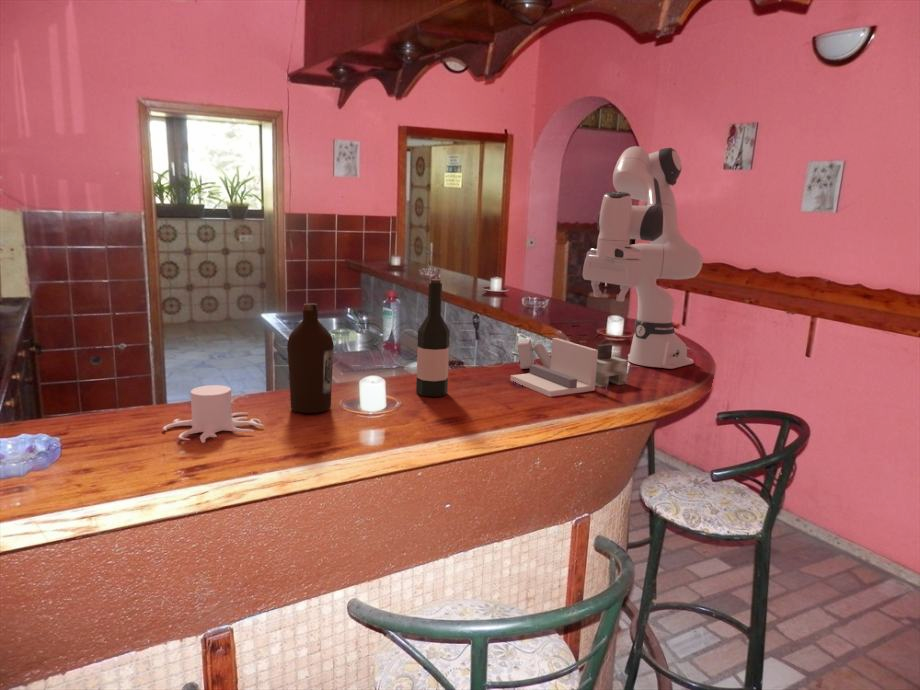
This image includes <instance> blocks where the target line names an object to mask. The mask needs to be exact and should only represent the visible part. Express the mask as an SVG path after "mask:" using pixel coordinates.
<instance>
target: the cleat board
mask: <svg viewBox="0 0 920 690" xmlns="http://www.w3.org/2000/svg"><path fill="white" fill-rule="evenodd" d="M551 339H552V340H551V352H550V357H551V365H550V369H548V368H546V367H544V365H540V364H538V363H537V364H535V363H534V365H530V368H529V372H527V373H521V374H520V373H519V374H511V375H510V381H511V382H513V381H514V382H513V383H515V382H516V384H518V385H520V386H522V385H523V387H525V388H527V389H530V390H533V391H535V392H537V393H539V394H542V395H545V396H546V397H550V398H552V397H556V396H565V395H573V394H579V393H585V392H586V393H587V392H592V391H593V392H594V391H595V389H596V388H595V387H596V386H595V380H596V368H597V357H598V350H596V348H592V347H589V346H585V345H582V344H577V343H575V342H571V341H568V340H566V339H562V338H557V337H553V338H551Z"/></svg>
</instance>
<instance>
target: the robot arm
mask: <svg viewBox="0 0 920 690" xmlns="http://www.w3.org/2000/svg"><path fill="white" fill-rule="evenodd" d="M681 172H682V160H681V157H680V155H679V154H678V152H677V151H676V150H675V149H674V148H672V147H664V148H660V149H659V150H657V151H654V152H650V153H648V151H647V150H646V149H645V148H643V147H641V146H639V145H638V146H637V145H635V146H633V145H632V146H630V147H627V148H626V149H625V150H623V152H622V153H621V155H620V156H619V158H618V160H617V162H616V164H615V166H614V169H613V174H612V185H613V187H614V190H615V191H610V192H607V193H604V195H603V197H602V200H601V206H600V211H598V213H597V214H598V215H597V223H596V224H597V226H596V227H597V228H596V229H597V230H598V231H599V234H598V237H597V242H596V243H597V244H596V248H590V249H589V250H588V251H587V252H586V257H585V259H584V263H583V266H582V267H583V269H582V278H583V280H586V281H590V282H591V283H590V285H591V288H592V291H593V295H592V296H593V297H595V298H601V297H602V290H600V286H599V285H600V284H601V283H605V284H610V285H611V284H612V285H617V286H619V289H620V292H619V293H618V294H616V298H615V299H616V301H617V302H624V301H625V299H626V298H625V297H626V295H627V294H628V291H629V290H630V287H634V288H635V291H636V294H637V312H636V313H637V315H636V319H635V321H634V331H635V332H634V334H633V337H632V341H631V346H630V351H629V353H628V354H627V357H628V358H627V360H628V363H629V362H630V363H632V364H634V365H638V366H643V367H650V368H663V369H670V370H671V369H672V370H673V369H676V368H677V369H678V368H681V367H685V366H688V365H689V366H690V365H692V364H694V359H692V358H690V357H687V355H688V347H687V345H686V343H685V342H684V341H682V339H681V338H679V336H678V335H677V334H675V330H676V329H677V330H680V328H681V323H680V322H675V321H674V322H673V314H674V306H675V305H674V304H675V302H674V300H675V299H674V297H673V296H672V294H671V293H669V292H668V291H666V290H665V289H663V288H662V287H660V286H658V284H657V280H658V279H662V280H688V279H692V278H693V279H694V278H695V277H696V276H698V275H699V274H700V272H701V270H702V269H703V268H702V267H703V262H704V260H703V256H702V254H701V252H700V249H698V248H696V247H695V246H693V245H692V244H690V243H688V241H686V240H685V238H683V235H682V234H681V233H680V230H679V225H678V219H677V218H678V217H677V216H678V215H677V211H678V210H677V204H676V199H675V195H674V193H673V190H672V189H671V186H672V187H673V186H675V185H676V184H677V181H678V179H679V177H680V175H681ZM632 200H638V201H641V202H642V205H633V204H632V203H633V202H632ZM630 240H642V241H648V243H645V242H644V243H641V242H640V243H634V244H630Z"/></svg>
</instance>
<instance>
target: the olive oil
mask: <svg viewBox="0 0 920 690" xmlns="http://www.w3.org/2000/svg"><path fill="white" fill-rule="evenodd" d="M302 305H303V309H302V320H301V322H300V323H299V324H298V325H297V326H296V327H295V328H294V329H293V330H292V331H291V333H289V337H288V340H287V343H286V349H287V351H286V352H287V361H288V375H289V376H288V377H289V379H288V380H289V393H290V394H289V396H290V408H291V410H292V411H294V412H297V413H305V414H313V413H314V414H315V413H320V412H321V413H322V412H326V411H328V410H329V409H330V408H331V407H332V389H333V388H332V387H333V386H332V385H333V383H332V381H333V363H334V350H335V348H334V347H335V345H334V340H333V336H332V335H331V333H330V332H329V331H328V330H327V328H326V327H325V326H324V325H323V324H322V323H321V322H320V321H319V319H318V316H319V315H318V313H319V312H318V311H319V310H318V303H313V302H308V303H304V304H302Z"/></svg>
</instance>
